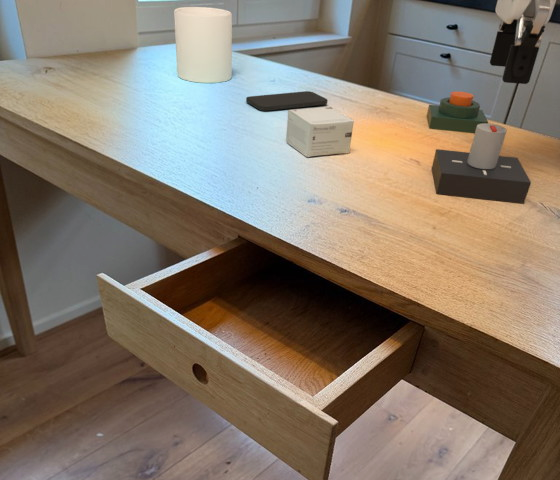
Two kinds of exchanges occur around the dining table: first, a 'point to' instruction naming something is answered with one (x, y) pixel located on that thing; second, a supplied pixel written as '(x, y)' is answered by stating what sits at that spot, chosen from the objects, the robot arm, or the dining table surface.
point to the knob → (486, 146)
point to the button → (461, 98)
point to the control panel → (479, 178)
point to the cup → (203, 44)
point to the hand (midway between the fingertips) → (507, 73)
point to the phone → (286, 100)
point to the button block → (455, 117)
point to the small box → (319, 131)
